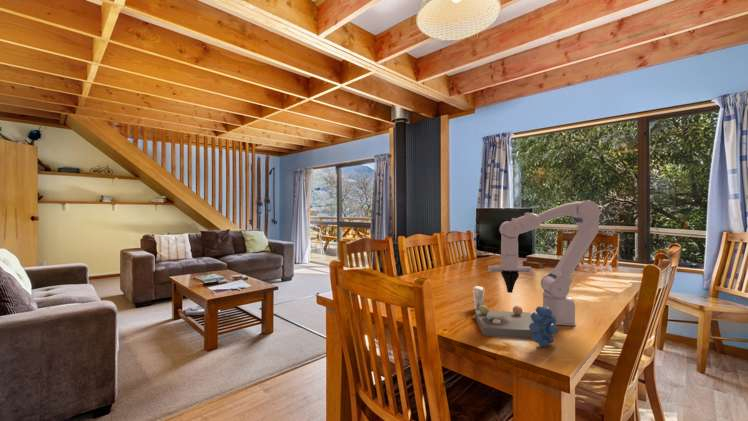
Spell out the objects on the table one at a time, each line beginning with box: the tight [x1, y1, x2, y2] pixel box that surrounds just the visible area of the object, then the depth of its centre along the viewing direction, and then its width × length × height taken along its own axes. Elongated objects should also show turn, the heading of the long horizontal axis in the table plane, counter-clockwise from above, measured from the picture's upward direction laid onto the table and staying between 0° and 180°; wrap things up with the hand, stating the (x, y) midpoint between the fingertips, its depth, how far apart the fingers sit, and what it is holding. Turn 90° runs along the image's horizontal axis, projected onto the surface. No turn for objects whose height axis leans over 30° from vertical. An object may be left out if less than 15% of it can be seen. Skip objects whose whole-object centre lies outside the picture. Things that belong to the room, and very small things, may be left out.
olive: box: [479, 304, 490, 315], centre depth 115 cm, size 3×3×3 cm
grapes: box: [529, 305, 559, 348], centre depth 93 cm, size 12×7×12 cm, turn 122°
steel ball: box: [492, 319, 502, 323], centre depth 108 cm, size 3×3×3 cm
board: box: [474, 309, 534, 339], centre depth 109 cm, size 19×18×2 cm
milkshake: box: [472, 285, 486, 311], centre depth 128 cm, size 5×5×10 cm
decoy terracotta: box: [512, 305, 524, 315], centre depth 114 cm, size 3×3×3 cm
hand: (509, 292), depth 117 cm, fingers closed
